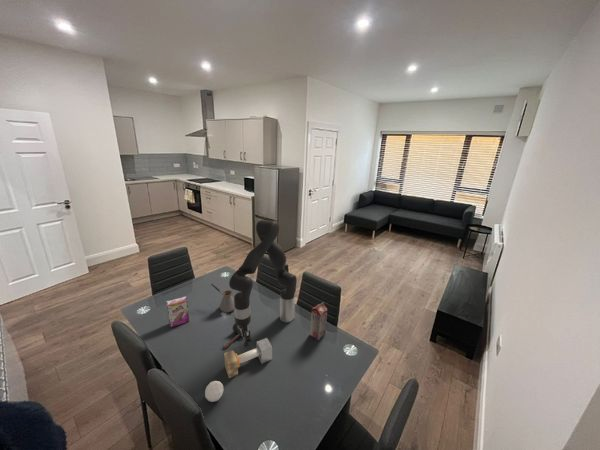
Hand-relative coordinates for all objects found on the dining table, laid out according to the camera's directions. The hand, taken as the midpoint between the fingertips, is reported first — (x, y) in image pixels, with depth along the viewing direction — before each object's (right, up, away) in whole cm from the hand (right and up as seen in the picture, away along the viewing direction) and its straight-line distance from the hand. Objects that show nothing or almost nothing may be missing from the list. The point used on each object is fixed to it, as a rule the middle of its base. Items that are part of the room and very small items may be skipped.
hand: (243, 340), depth 120 cm
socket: (-7, -16, +2) cm, 17 cm away
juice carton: (+39, -10, +28) cm, 49 cm away
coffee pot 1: (-26, 0, +49) cm, 56 cm away
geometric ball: (-10, -20, -11) cm, 25 cm away
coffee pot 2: (-11, -10, +22) cm, 27 cm away
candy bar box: (-48, -4, +32) cm, 58 cm away
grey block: (+9, -14, +10) cm, 19 cm away
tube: (+2, -13, +6) cm, 15 cm away
